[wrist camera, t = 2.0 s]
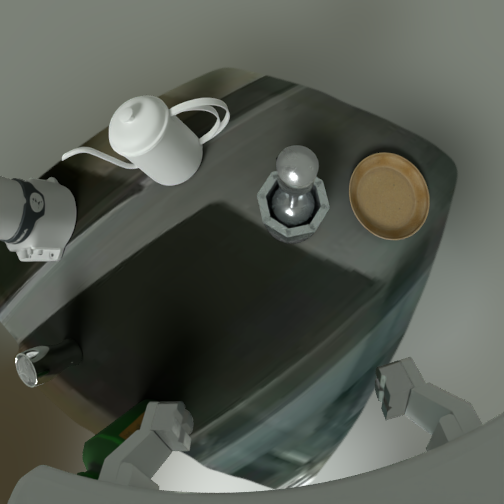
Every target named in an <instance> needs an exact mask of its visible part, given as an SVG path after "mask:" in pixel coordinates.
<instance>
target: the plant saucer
mask: <svg viewBox="0 0 504 504" xmlns="http://www.w3.org/2000/svg"><path fill="white" fill-rule="evenodd" d="M349 198H350V203H351V206H352V209H353V211H354V214H355V215H356V217H357V219H358V220H359V222H360V223H361V224H362V225H363V226H364V227H365V228H366V229H367V230H368V231H369V232H371V233H372V234H374V235H376V236H378V237H380V238H383V239H387V240H401V239H405V238H408V237H410V236H412V235H413V234H415V233H416V232H417V231H418V230H419V229H420V228H421V227H422V225H423V224H424V222H425V220H426V218H427V215H428V211H429V203H430V202H429V192H428V187H427V184H426V182H425V180H424V178H423V176H422V174H421V173H420V171H419V170H418V169H417V168H416V167H415V166H414V165H413V164H412V163H411V162H410V161H408V160H407V159H405V158H403V157H401V156H399V155H397V154H393V153H385V152H383V153H376V154H373V155H370V156H368V157H366V158H365V159H363V160H362V161H361V162H360V163H359V164H358V165H357V167H356V168H355V170H354V171H353V173H352V176H351V179H350V184H349Z"/></svg>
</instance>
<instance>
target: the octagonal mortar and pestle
mask: <svg viewBox="0 0 504 504" xmlns="http://www.w3.org/2000/svg"><path fill="white" fill-rule="evenodd" d="M277 158H278V157H277ZM277 158H276V161H277ZM279 188H280V185H279V183H278V176H277V171H275V172H272V173H271V174H270V176H269V177H268V179H267V180H266V182H265V183H264V185H263V186H262V188H261V189H260V191H259V193H258V194H257V198H258V202H259V206H260V211H261V215H262V220H263V223H264V225H265V226H266V228H267V230H268V231H269V233H270V234H271V235H272V236H273V237H274V238H276V239H277V240H279V241H282V242H285V243H299V242H302V241H305V240H306V239H308V238H309V237H310V236H312V235H313V234H314V232H315V231H316V229H317V228H318V226H319V224H320V223H321V221H322V220H323V218H324V216H325V215H326V213H327V211H328V210H329V208H330V207H329V203H328V199H327V195H326V191H325V187H324V183H323V181H322V180H321V179H319V178H318V177H316V178H315V181H314V184H313V186H312V188H311V190H310V192H311V194H312V196H313V199H314V209H313V212H312V214H311V216H310V217H309V218H308V219H307V220H306V221H305V222H303V223H301V224H298V225H289V224H285V223H283V222H282V221H280V220H279V219H278V218H277V217H276V215H275V214H274V211H273V208H272V199H273V196H274V194H275V192H276V191H277V190H278V189H279Z"/></svg>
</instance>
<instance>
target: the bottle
mask: <svg viewBox="0 0 504 504" xmlns="http://www.w3.org/2000/svg"><path fill="white" fill-rule="evenodd" d="M149 402H159V401H158V400H153V399H145V400H143V401H141V402H139V403H138V404H137V405H135V406H134V407H133V408H131V409H130V410H129V411H127V412H126V413H125V414H123V415H122V416H121V417H119V418H118V419H117V420H115V421H114V422H113V423H111V424H110V425H109V426H107V427H106V428H105V429H103V430H102V431H100V432H99V433H98V434H96V435H95V436H94V437H92V438H91V439H89V440H88V441H87V442H85V445H84V449H83V462H84V464H85V467H86V469H87V471H86V472H80V473H78V474H77V475H80V476H83V477H87V478H91V479H96V480H98V479H99V476H100V473H101V469H102V466H103V463H104V460H105V458H106V457H108V456H109V455H110V454H111V453H112V452H113V451H114V450H115V449H117V448H118V447H119V446H120V445H121V444H122V443H123V442H124V441H125V440H127V439H128V438H129V437H130V436H131V435H132V434H133V433H134V432H135V431H136V430H140V427H141V424H142V421H143V417H144V414H145V411H146V408H147V405H148V403H149Z"/></svg>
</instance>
